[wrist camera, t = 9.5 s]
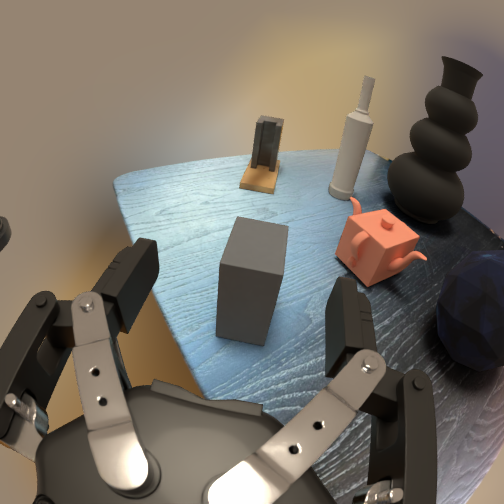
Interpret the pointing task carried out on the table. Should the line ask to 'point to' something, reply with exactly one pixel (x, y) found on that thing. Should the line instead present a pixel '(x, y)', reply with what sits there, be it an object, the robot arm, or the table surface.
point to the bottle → (353, 145)
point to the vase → (438, 149)
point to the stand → (264, 156)
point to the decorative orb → (474, 311)
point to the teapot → (376, 245)
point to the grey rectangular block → (250, 280)
